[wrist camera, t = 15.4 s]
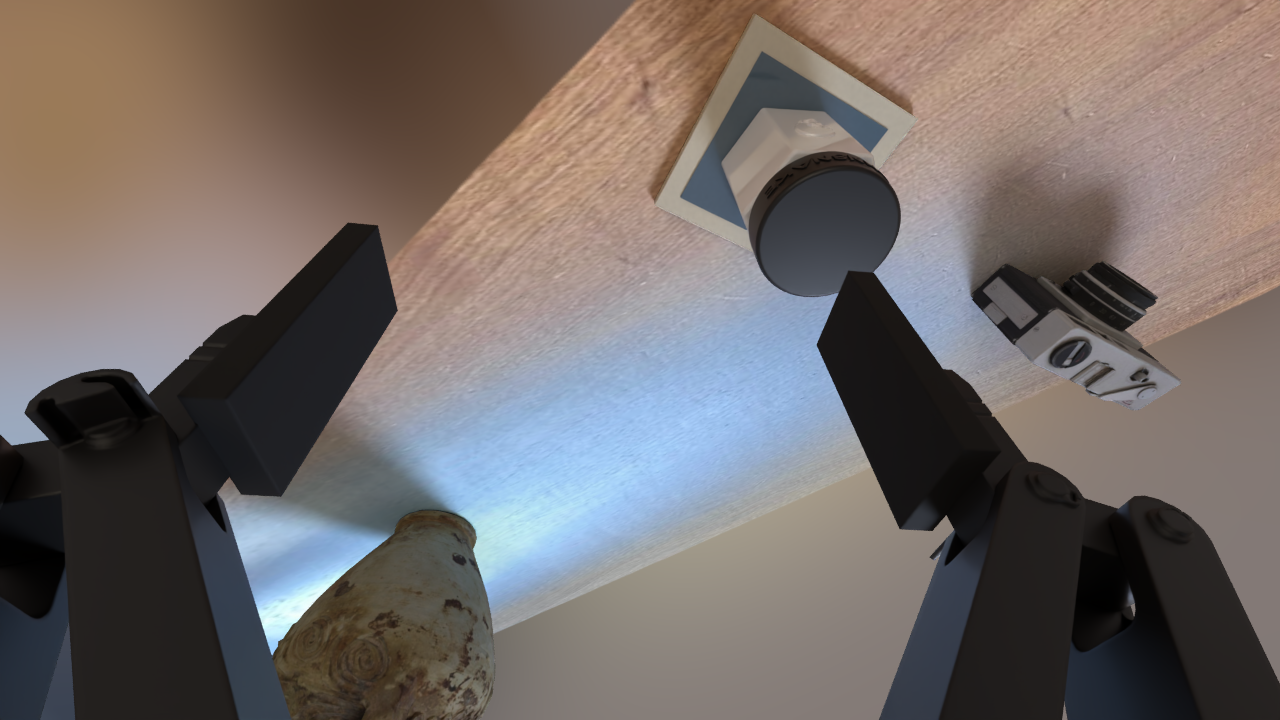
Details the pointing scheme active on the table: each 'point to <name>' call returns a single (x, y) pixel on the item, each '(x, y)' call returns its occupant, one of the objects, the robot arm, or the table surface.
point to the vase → (396, 633)
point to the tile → (769, 78)
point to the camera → (1080, 330)
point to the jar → (810, 201)
